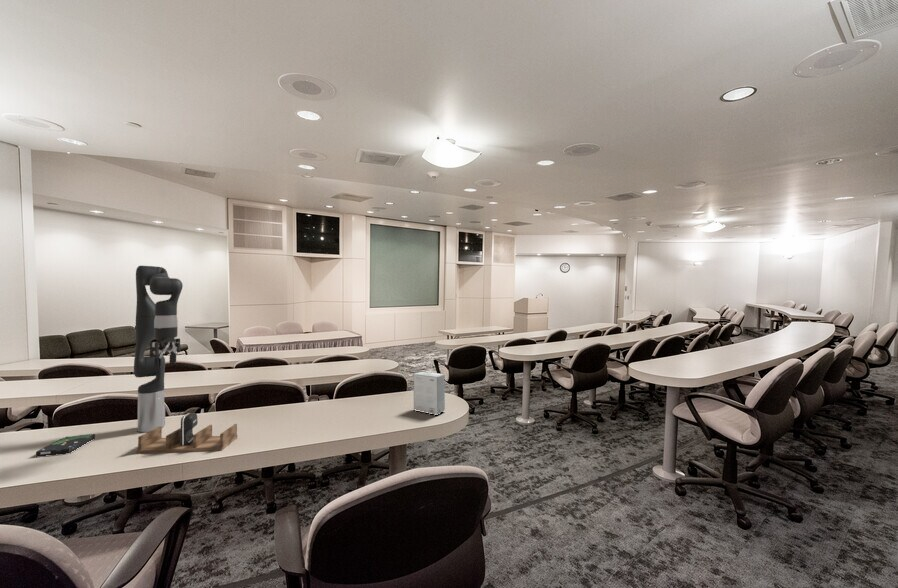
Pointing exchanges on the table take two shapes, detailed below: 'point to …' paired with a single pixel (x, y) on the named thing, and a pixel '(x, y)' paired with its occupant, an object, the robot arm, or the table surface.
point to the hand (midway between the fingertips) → (165, 365)
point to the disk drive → (65, 445)
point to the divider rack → (172, 443)
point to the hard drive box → (429, 392)
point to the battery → (188, 428)
